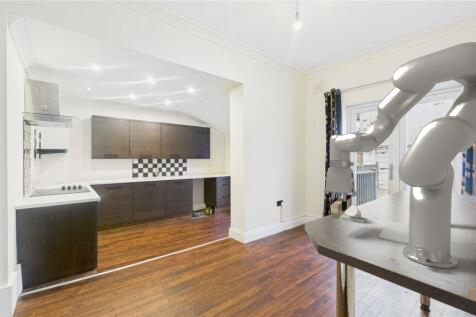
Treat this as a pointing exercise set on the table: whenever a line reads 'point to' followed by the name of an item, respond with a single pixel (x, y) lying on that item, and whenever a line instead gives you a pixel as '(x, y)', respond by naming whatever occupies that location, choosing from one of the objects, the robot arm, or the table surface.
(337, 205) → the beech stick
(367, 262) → the table surface
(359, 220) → the sage stop bar
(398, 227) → the grey mat
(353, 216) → the white bottle
